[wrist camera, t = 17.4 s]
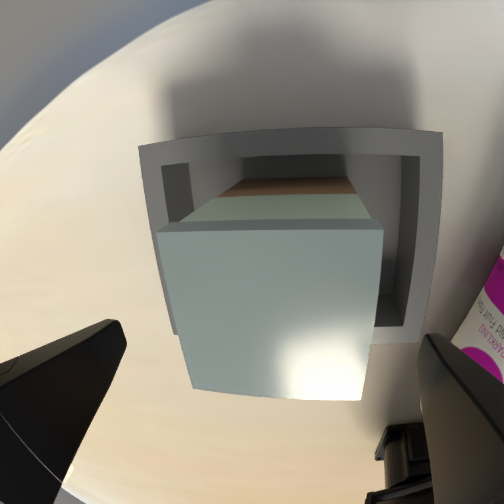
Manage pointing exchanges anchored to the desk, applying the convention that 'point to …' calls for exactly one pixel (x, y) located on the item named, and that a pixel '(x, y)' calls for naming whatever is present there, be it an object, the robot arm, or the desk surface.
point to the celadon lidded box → (275, 294)
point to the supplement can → (486, 325)
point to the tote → (320, 165)
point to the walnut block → (290, 186)
